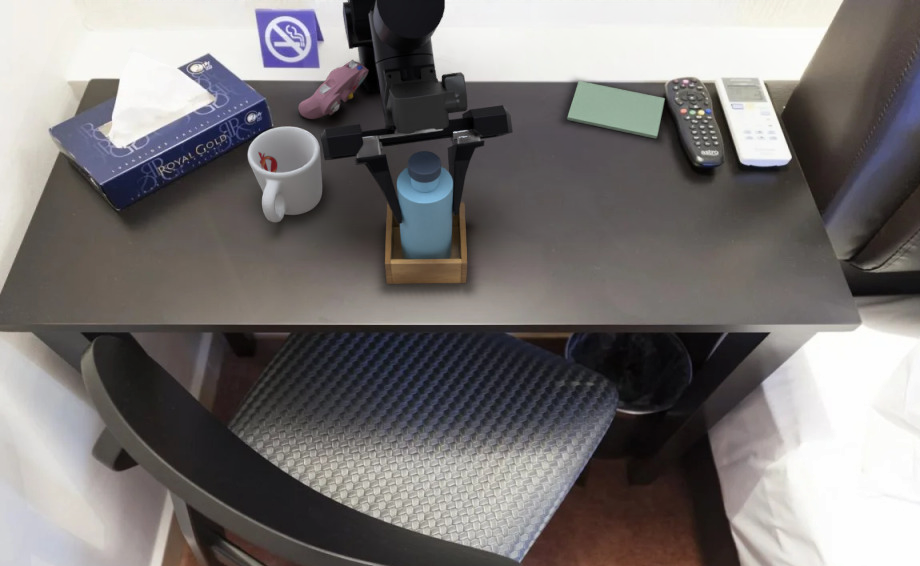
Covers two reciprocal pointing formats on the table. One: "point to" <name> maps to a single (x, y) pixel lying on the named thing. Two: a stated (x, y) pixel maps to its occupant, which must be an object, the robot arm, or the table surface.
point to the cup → (287, 171)
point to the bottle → (425, 208)
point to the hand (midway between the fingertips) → (427, 219)
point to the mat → (616, 109)
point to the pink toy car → (334, 90)
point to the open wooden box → (426, 268)
